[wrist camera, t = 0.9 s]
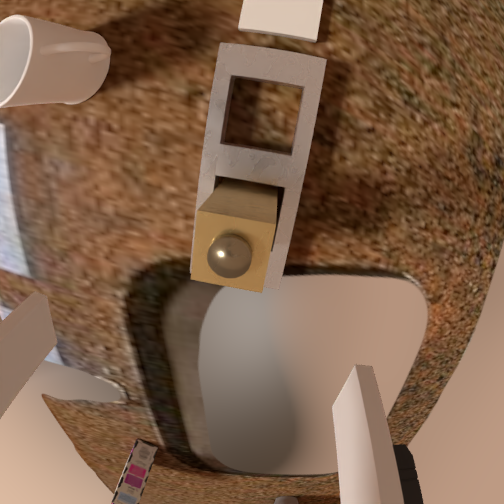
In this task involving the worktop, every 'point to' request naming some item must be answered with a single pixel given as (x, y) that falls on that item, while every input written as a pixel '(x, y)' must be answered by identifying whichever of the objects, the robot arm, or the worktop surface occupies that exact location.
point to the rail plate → (255, 158)
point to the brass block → (235, 235)
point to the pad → (282, 18)
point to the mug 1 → (49, 62)
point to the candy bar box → (135, 473)
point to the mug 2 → (286, 500)
